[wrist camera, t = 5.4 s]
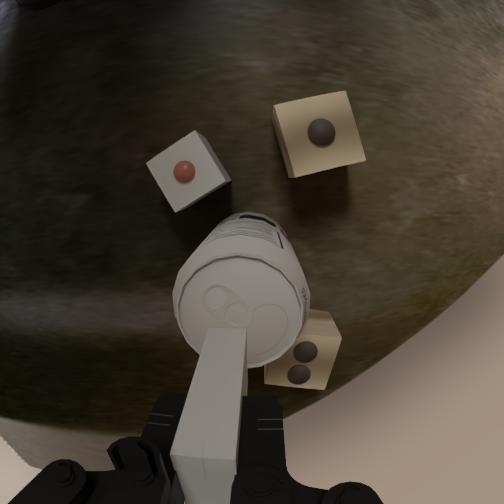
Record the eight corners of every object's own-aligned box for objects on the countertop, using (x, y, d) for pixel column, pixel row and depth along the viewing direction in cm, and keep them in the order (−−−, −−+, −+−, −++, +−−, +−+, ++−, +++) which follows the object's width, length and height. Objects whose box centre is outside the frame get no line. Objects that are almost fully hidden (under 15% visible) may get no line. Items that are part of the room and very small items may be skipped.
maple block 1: (271, 119, 29) (274, 104, 23) (330, 105, 28) (346, 90, 22) (288, 177, 30) (295, 177, 24) (346, 163, 29) (366, 160, 23)
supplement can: (307, 247, 31) (344, 305, 17) (253, 306, 33) (248, 398, 18) (243, 193, 30) (227, 209, 16) (191, 257, 32) (140, 321, 17)
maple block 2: (274, 303, 33) (276, 331, 27) (329, 311, 33) (342, 339, 27) (264, 352, 34) (264, 384, 28) (315, 358, 34) (324, 391, 28)
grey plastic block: (163, 165, 30) (144, 163, 25) (205, 137, 29) (194, 129, 24) (188, 207, 31) (174, 213, 26) (231, 180, 30) (225, 181, 25)
